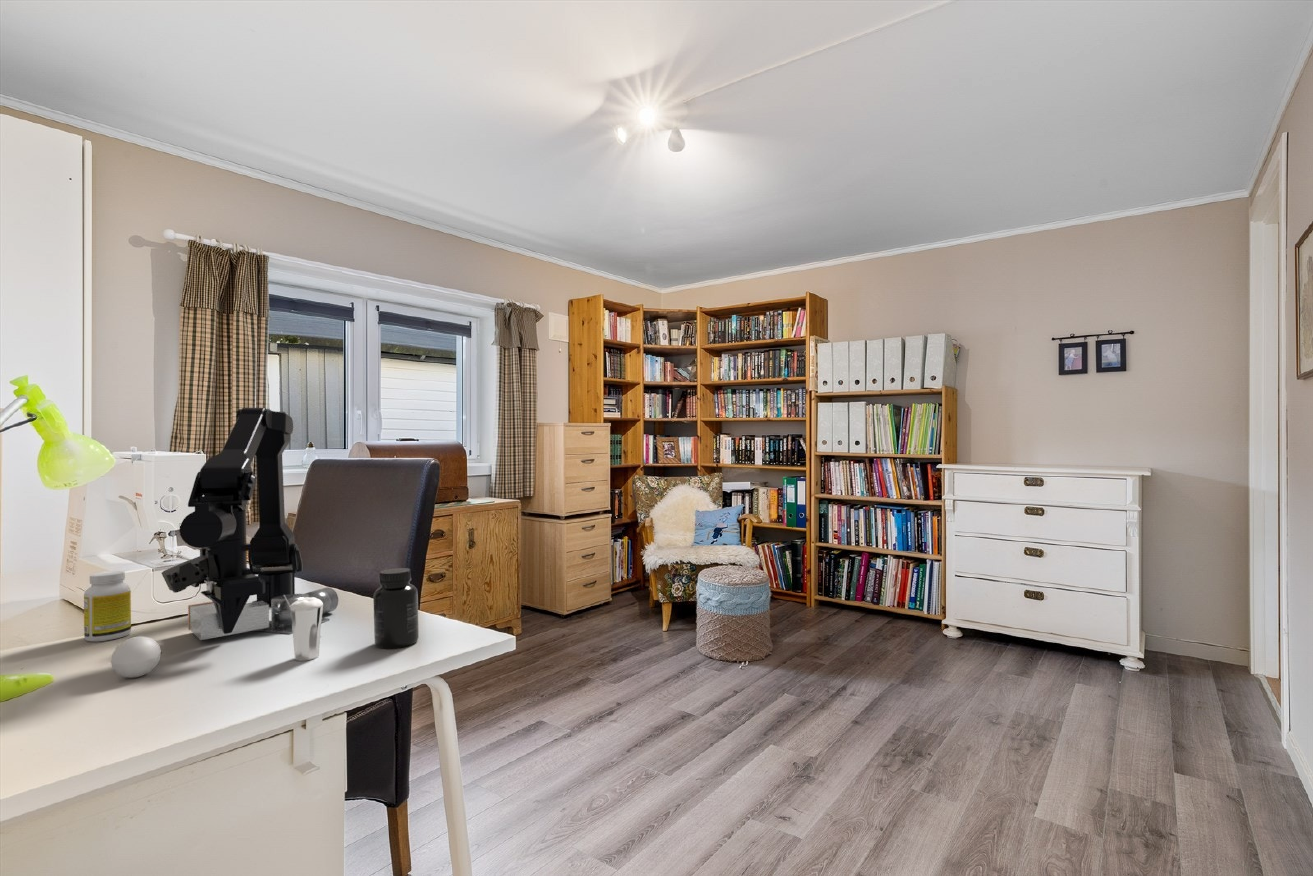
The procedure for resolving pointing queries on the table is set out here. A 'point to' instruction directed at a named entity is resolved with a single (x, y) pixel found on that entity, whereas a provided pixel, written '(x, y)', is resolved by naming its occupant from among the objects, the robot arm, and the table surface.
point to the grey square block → (208, 624)
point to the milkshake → (306, 627)
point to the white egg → (136, 657)
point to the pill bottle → (107, 607)
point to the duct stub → (281, 607)
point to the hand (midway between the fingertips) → (227, 633)
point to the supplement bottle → (395, 610)
